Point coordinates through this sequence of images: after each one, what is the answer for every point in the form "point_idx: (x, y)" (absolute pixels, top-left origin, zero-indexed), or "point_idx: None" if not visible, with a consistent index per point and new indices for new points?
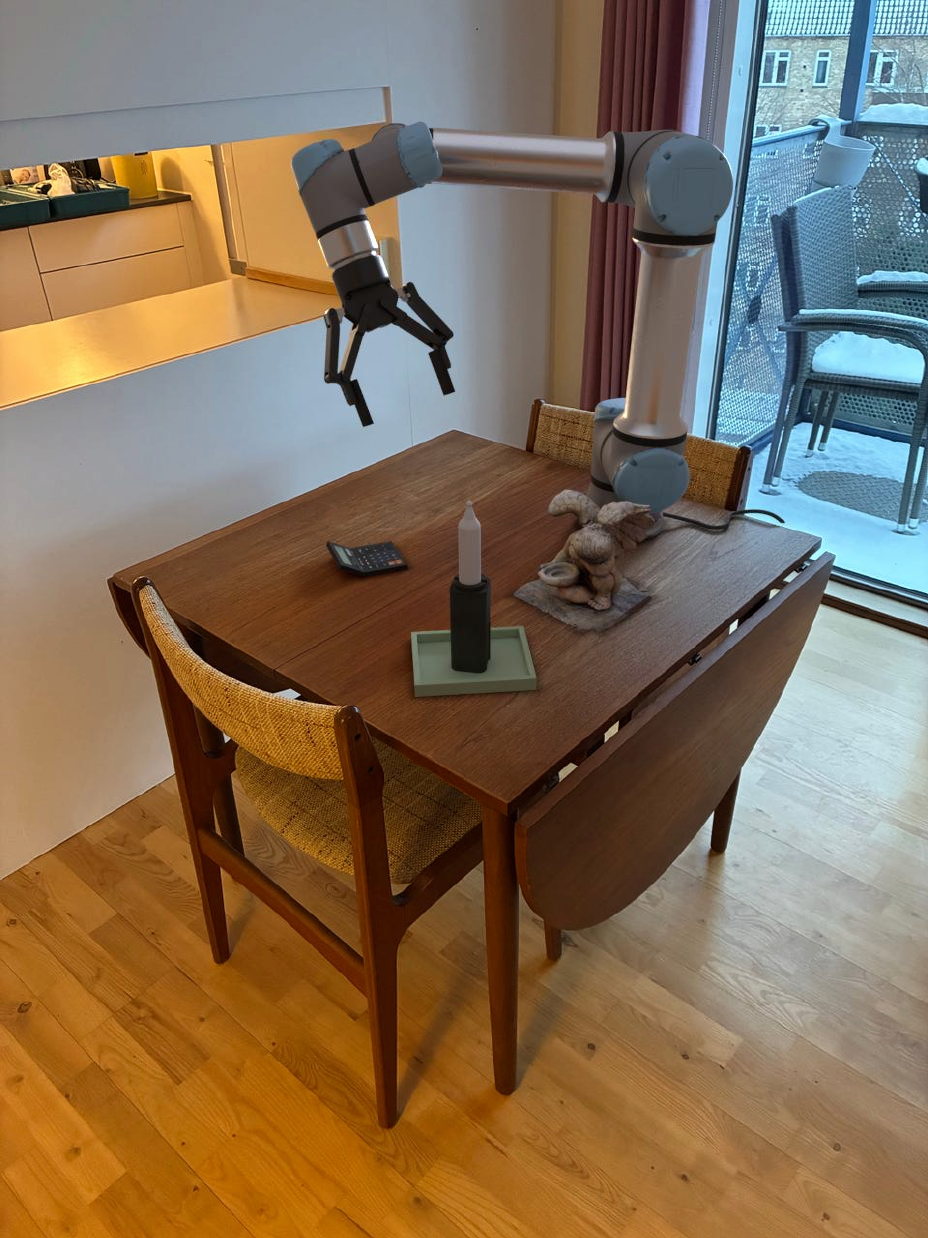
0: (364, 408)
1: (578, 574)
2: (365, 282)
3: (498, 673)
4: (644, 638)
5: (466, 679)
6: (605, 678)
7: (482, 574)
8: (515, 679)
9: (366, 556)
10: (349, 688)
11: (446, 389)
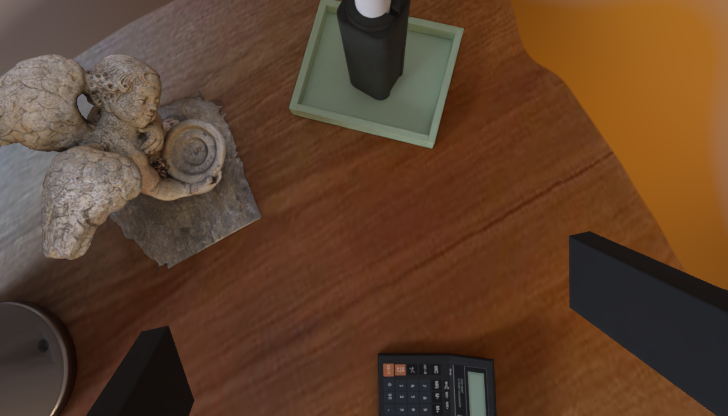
0: (644, 260)
1: (173, 126)
2: None
3: None
4: (157, 63)
5: None
6: (241, 4)
7: (347, 10)
8: None
9: (433, 409)
10: (531, 79)
11: (171, 370)
